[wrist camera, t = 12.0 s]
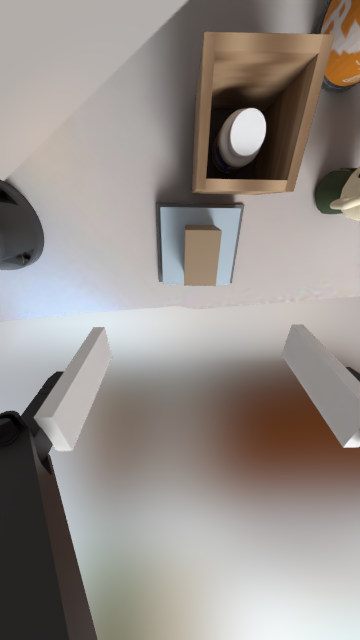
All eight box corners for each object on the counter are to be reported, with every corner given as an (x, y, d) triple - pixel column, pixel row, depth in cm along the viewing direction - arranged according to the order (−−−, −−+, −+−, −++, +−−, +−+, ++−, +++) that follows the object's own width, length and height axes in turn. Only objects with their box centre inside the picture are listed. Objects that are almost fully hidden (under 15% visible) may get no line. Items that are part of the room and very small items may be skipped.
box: (191, 193, 33) (196, 189, 22) (195, 98, 27) (204, 32, 16) (257, 194, 33) (293, 191, 22) (274, 100, 27) (335, 34, 16)
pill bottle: (208, 133, 29) (219, 106, 21) (246, 121, 28) (272, 88, 20) (214, 177, 32) (225, 169, 23) (248, 167, 31) (272, 155, 23)
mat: (159, 281, 41) (159, 281, 40) (156, 203, 34) (156, 203, 33) (231, 282, 41) (231, 283, 40) (243, 204, 34) (244, 204, 33)
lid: (163, 279, 40) (159, 299, 32) (161, 206, 33) (155, 208, 25) (227, 280, 40) (238, 300, 32) (237, 208, 33) (255, 209, 25)
